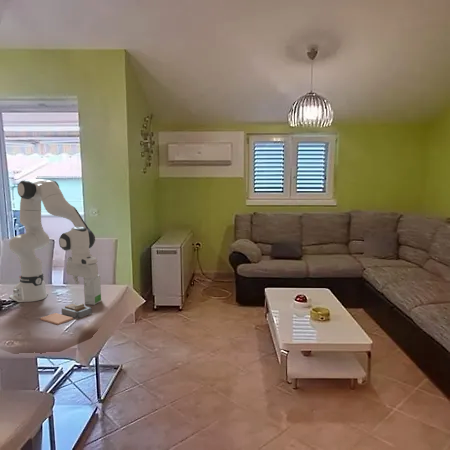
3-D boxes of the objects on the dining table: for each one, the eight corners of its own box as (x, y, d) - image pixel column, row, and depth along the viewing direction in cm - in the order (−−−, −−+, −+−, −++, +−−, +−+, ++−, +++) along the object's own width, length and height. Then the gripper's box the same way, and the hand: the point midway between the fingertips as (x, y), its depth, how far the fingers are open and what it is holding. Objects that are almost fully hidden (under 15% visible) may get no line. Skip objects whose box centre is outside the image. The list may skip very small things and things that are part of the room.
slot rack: (61, 314, 218) (61, 308, 218) (75, 309, 226) (75, 303, 225) (77, 318, 212) (77, 312, 211) (91, 313, 219) (91, 307, 219)
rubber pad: (40, 319, 210) (39, 318, 210) (55, 314, 218) (55, 312, 217) (57, 324, 203) (57, 323, 203) (73, 319, 210) (73, 317, 210)
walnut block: (65, 313, 219) (64, 303, 219) (73, 310, 224) (72, 301, 223) (77, 317, 214) (77, 306, 214) (85, 314, 218) (85, 304, 218)
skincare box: (94, 305, 233) (93, 277, 231) (83, 304, 234) (82, 277, 232) (101, 300, 241) (100, 274, 239) (91, 299, 242) (90, 273, 240)
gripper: (62, 257, 215) (63, 283, 216) (89, 261, 204) (90, 289, 206) (72, 255, 220) (73, 280, 222) (99, 259, 209) (100, 286, 211)
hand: (82, 284), depth 214 cm, fingers open, 6 cm apart
